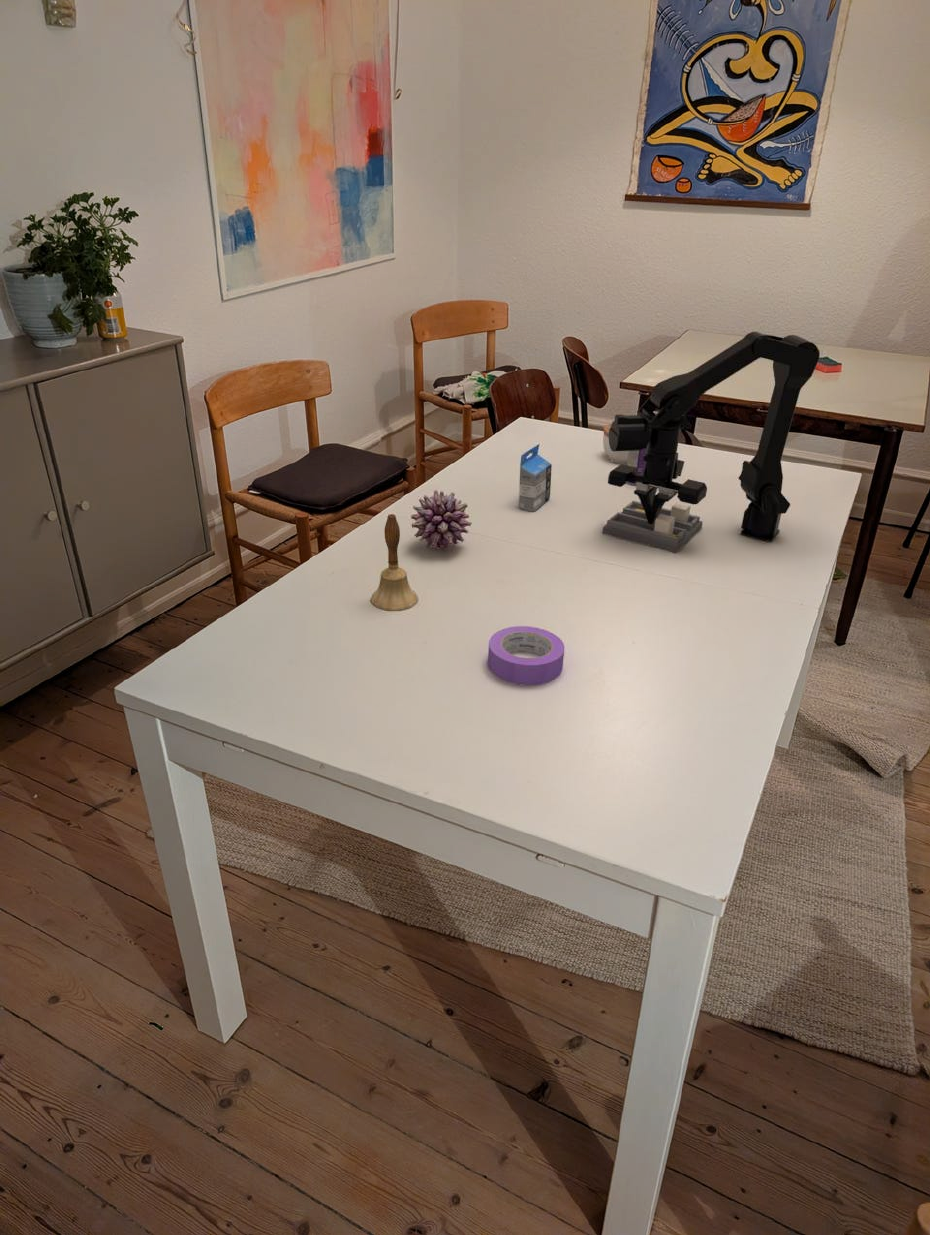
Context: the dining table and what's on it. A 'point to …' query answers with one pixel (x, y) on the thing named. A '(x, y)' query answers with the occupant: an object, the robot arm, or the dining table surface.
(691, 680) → the dining table surface
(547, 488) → the label tape box
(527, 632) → the masking tape
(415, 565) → the dining table surface
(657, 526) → the tab
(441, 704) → the dining table surface
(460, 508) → the flower
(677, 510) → the beige rectangular block
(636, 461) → the container
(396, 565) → the hand bell
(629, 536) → the switch bank
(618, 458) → the lidded jar
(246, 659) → the dining table surface
